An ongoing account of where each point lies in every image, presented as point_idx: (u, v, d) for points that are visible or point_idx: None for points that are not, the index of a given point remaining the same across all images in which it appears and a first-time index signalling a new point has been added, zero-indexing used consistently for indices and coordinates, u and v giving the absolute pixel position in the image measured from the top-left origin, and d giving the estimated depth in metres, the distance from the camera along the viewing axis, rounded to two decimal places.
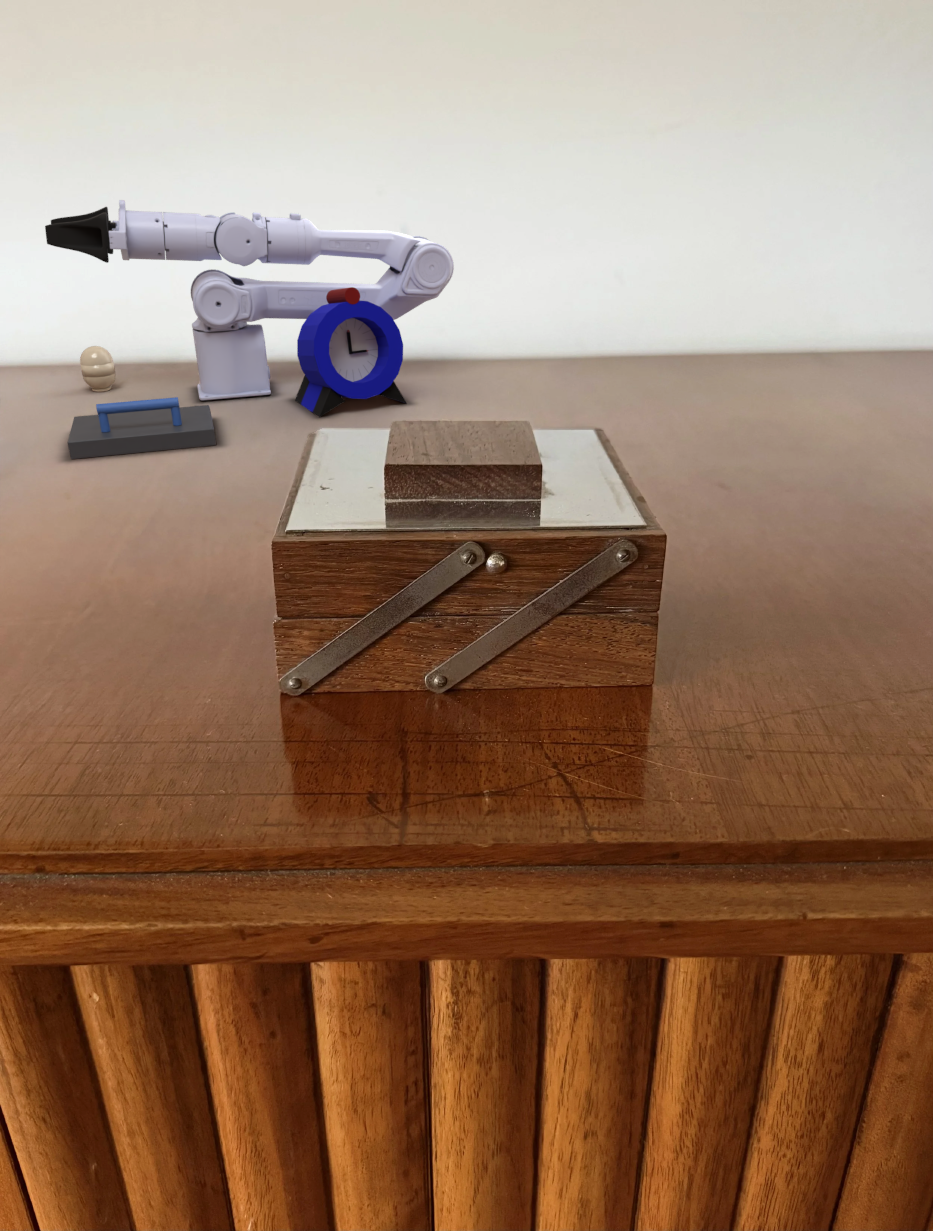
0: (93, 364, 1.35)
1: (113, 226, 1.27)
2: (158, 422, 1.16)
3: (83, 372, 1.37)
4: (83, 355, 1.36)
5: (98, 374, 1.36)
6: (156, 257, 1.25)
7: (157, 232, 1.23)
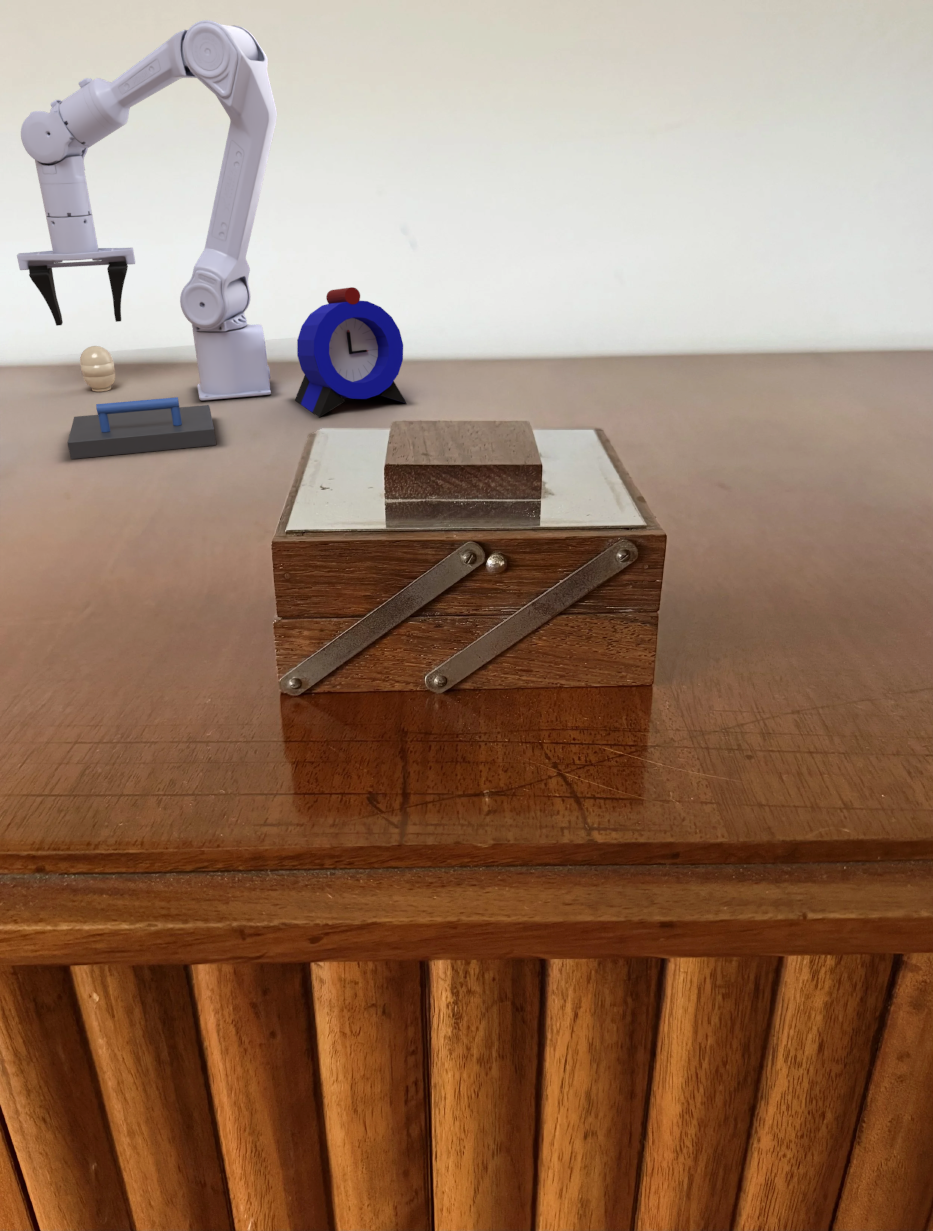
0: (93, 364, 1.35)
1: None
2: (158, 422, 1.16)
3: (83, 372, 1.37)
4: (83, 355, 1.36)
5: (98, 374, 1.36)
6: (57, 226, 1.27)
7: None
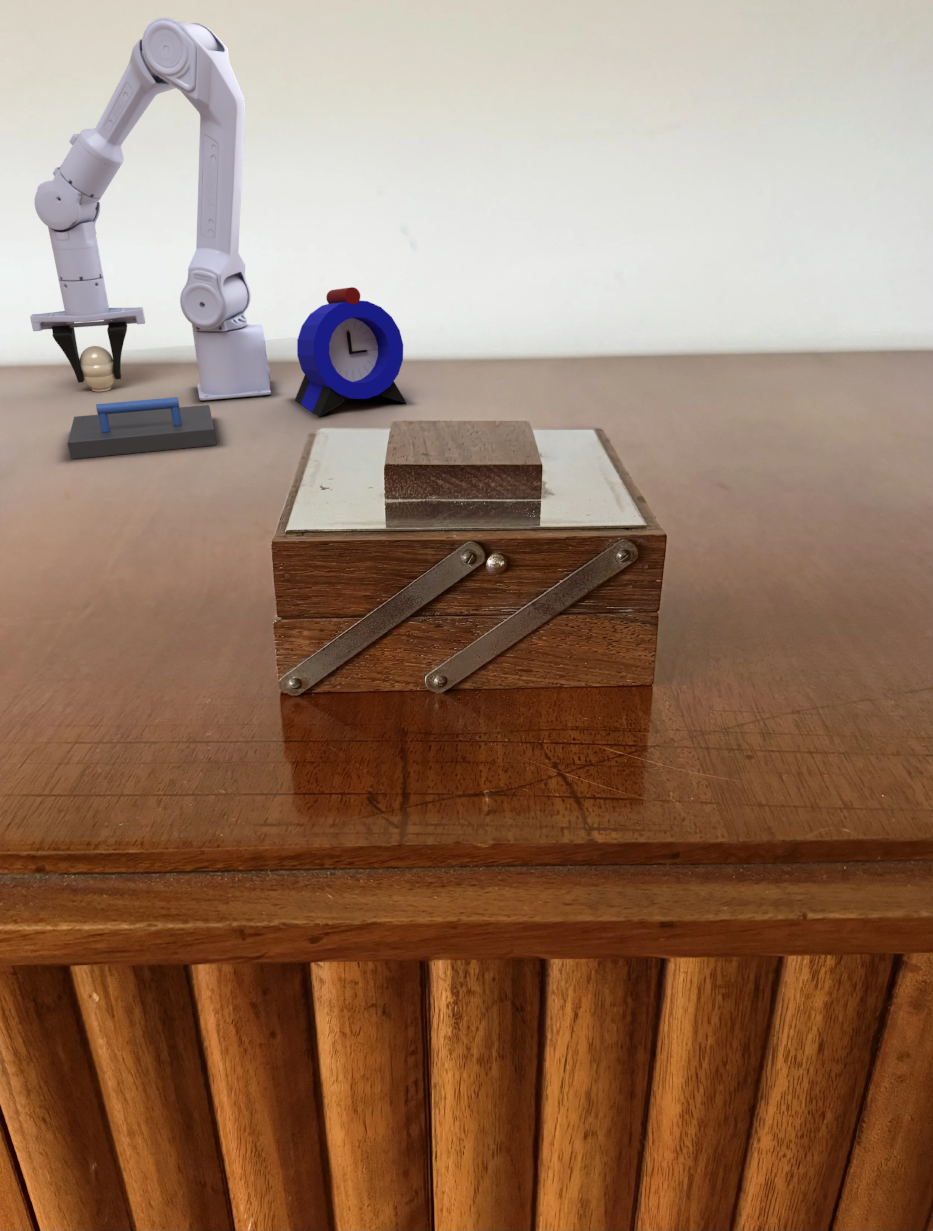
0: (93, 364, 1.35)
1: None
2: (158, 422, 1.16)
3: (83, 372, 1.37)
4: (83, 355, 1.36)
5: (98, 374, 1.36)
6: (70, 289, 1.30)
7: None
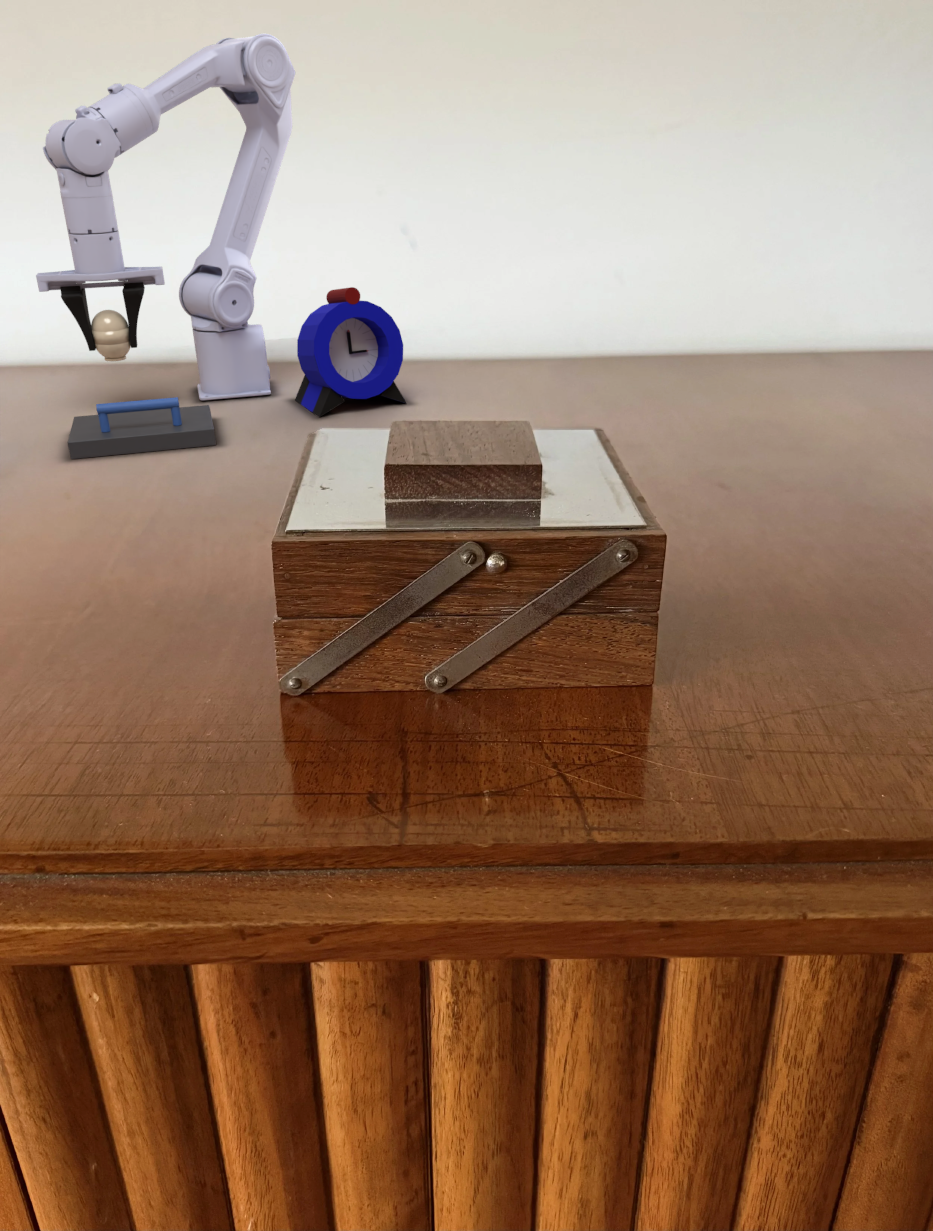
0: (106, 330, 1.20)
1: None
2: (158, 422, 1.16)
3: (94, 339, 1.22)
4: (95, 319, 1.21)
5: (111, 341, 1.21)
6: (80, 244, 1.15)
7: None
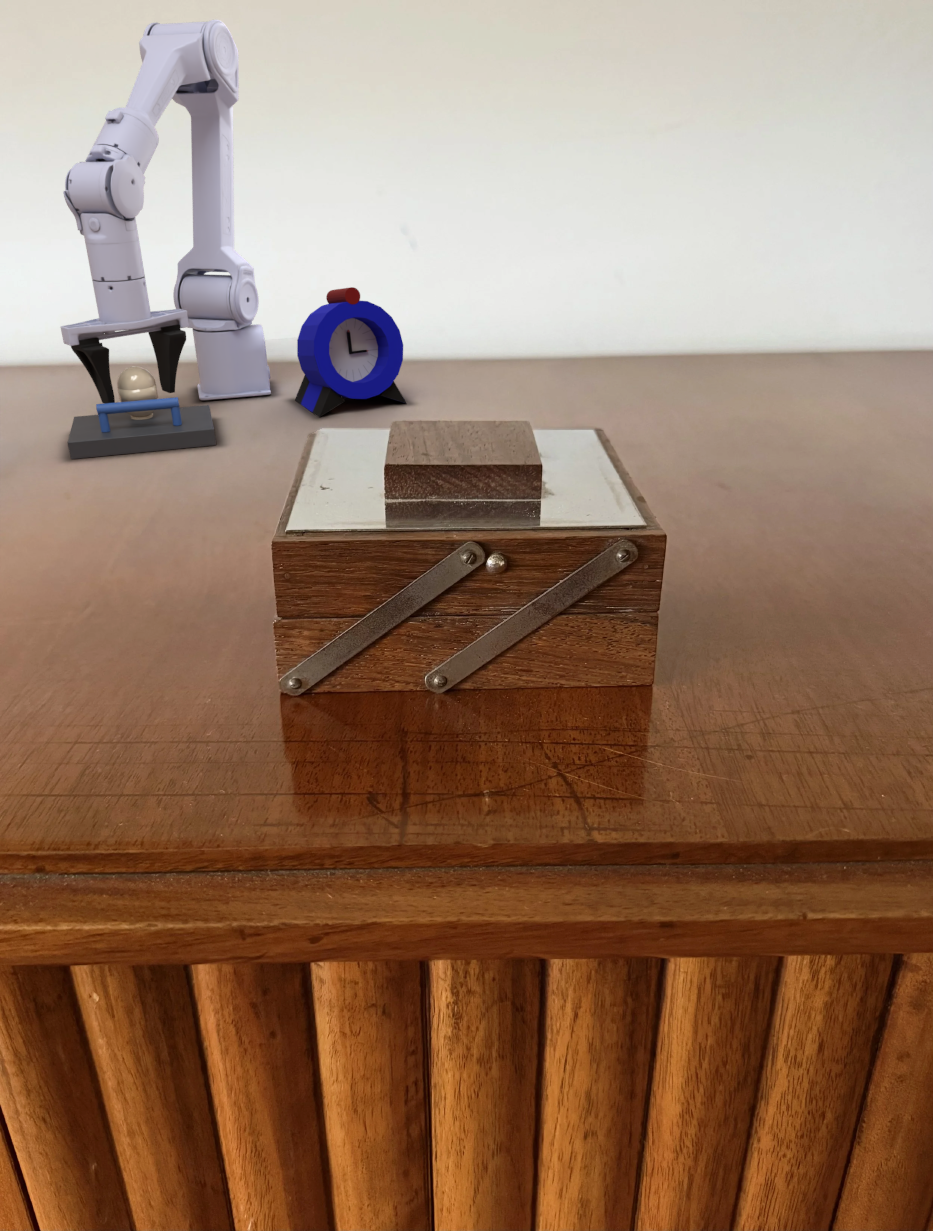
0: (142, 387, 1.15)
1: None
2: (158, 422, 1.16)
3: (125, 398, 1.16)
4: (126, 378, 1.15)
5: (147, 398, 1.16)
6: (117, 291, 1.09)
7: None
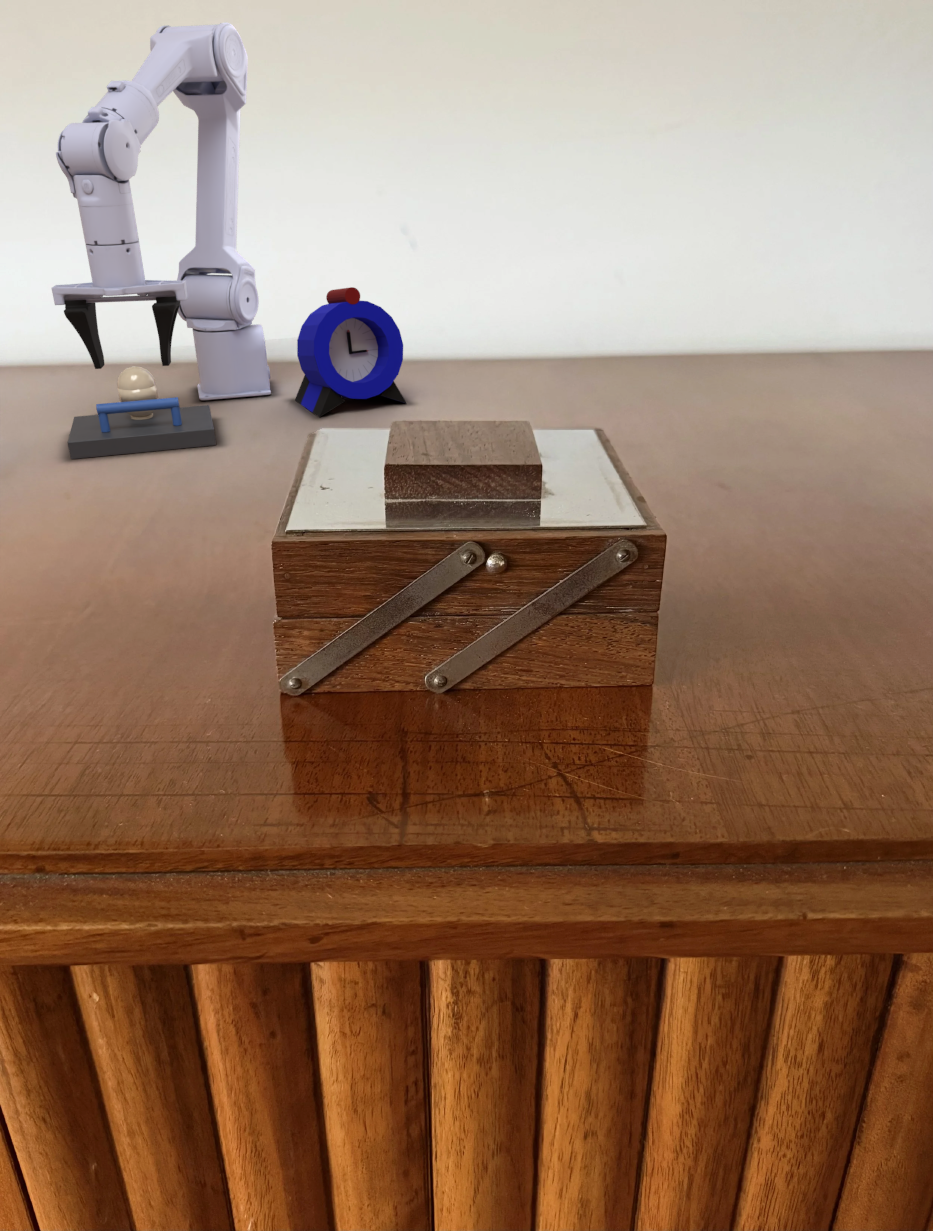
0: (142, 387, 1.15)
1: (86, 301, 1.12)
2: (158, 422, 1.16)
3: (125, 398, 1.16)
4: (126, 378, 1.15)
5: (147, 398, 1.16)
6: None
7: (138, 249, 1.10)
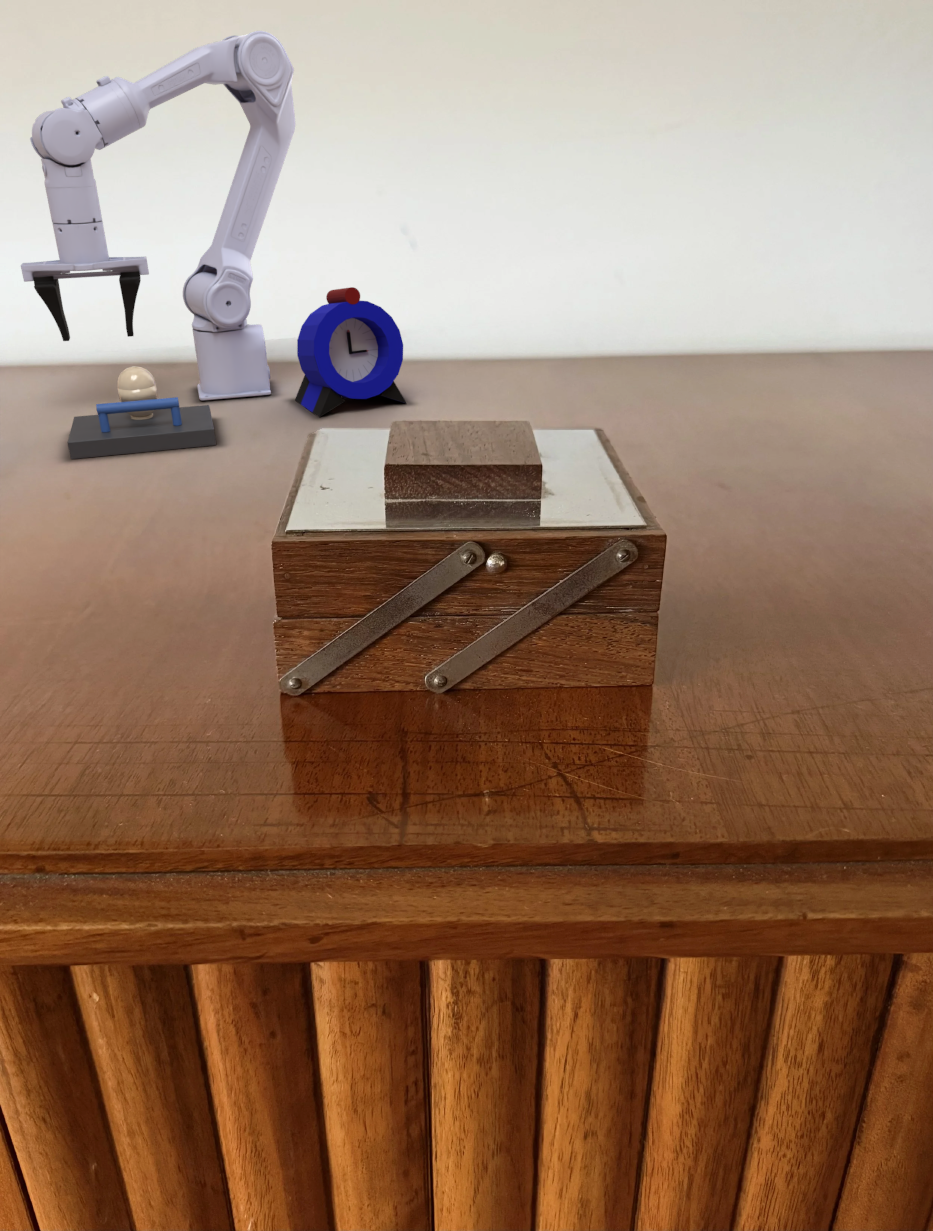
0: (142, 387, 1.15)
1: (53, 277, 1.20)
2: (158, 422, 1.16)
3: (125, 398, 1.16)
4: (126, 378, 1.15)
5: (147, 398, 1.16)
6: None
7: (102, 227, 1.19)
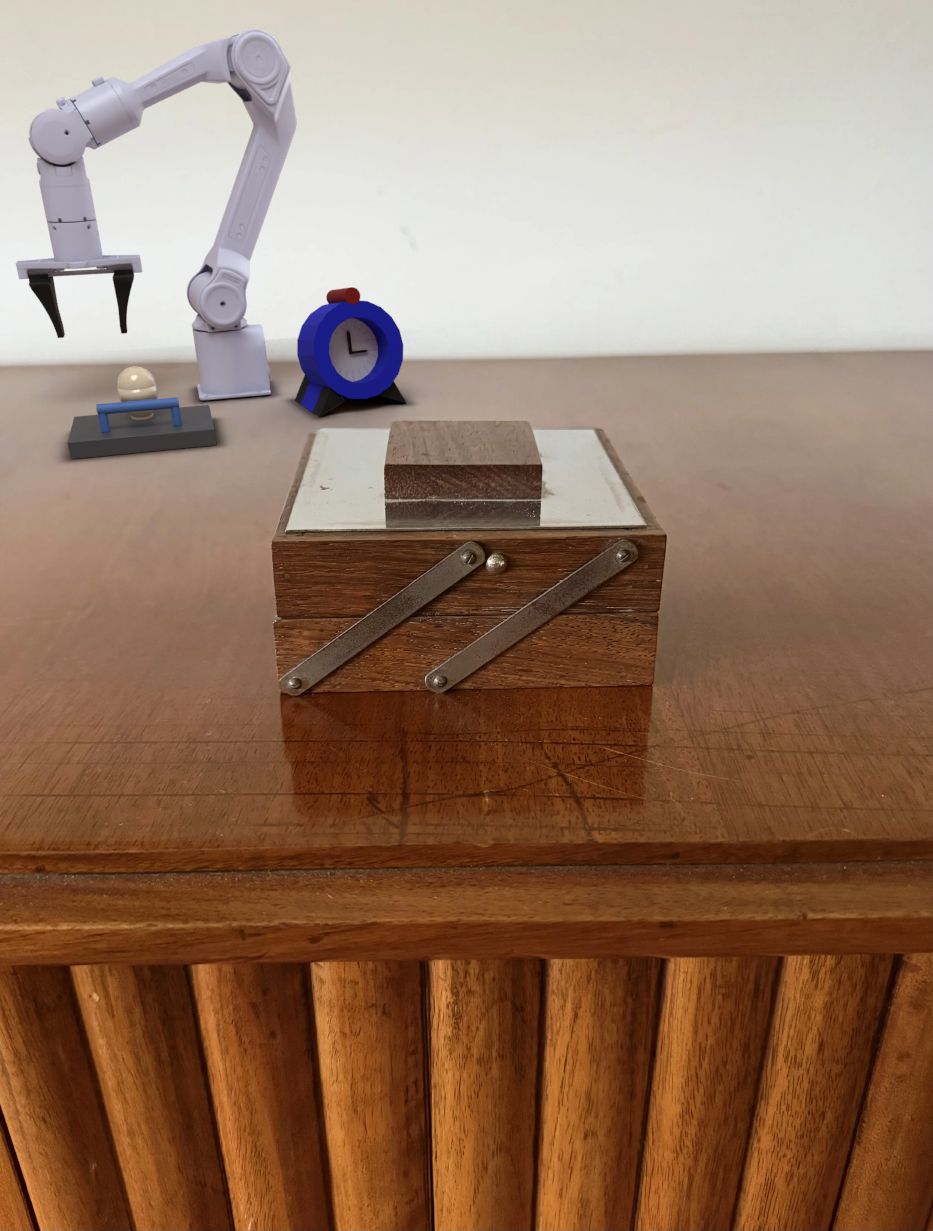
0: (142, 387, 1.15)
1: (48, 275, 1.22)
2: (158, 422, 1.16)
3: (125, 398, 1.16)
4: (126, 378, 1.15)
5: (147, 398, 1.16)
6: None
7: (96, 226, 1.21)
